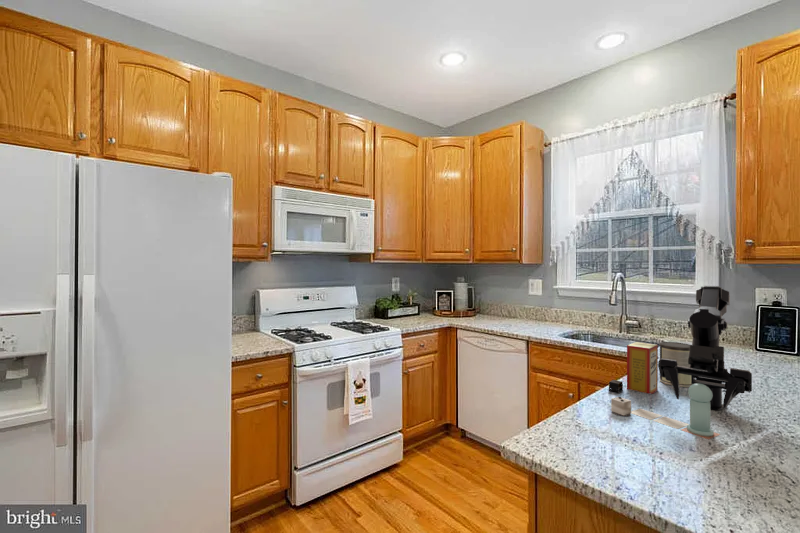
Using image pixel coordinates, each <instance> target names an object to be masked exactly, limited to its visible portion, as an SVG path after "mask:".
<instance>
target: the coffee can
mask: <svg viewBox="0 0 800 533" xmlns="http://www.w3.org/2000/svg"><path fill="white" fill-rule="evenodd" d="M658 344H659V345H658V346H659V360H660V359H662V358H663V359H671V360H677V364H678V366H685V367H690V364H688V358H689V348H690V345H691V344H689V343H683V342H677V341H661V342H659V343H658ZM678 379H679V388H680V387H681V388H689V387H690V386H691V385H692V380H691V375H686V374H680V373H678ZM659 382H660V383H663V384H665V385H668V386H672V384H671V382H670V381H668V380H666V379H665V378H664V377H662V376H660V375H659Z"/></svg>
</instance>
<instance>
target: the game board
mask: <svg viewBox="0 0 800 533" xmlns="http://www.w3.org/2000/svg"><path fill="white" fill-rule="evenodd" d="M610 401H611V402H610V406H611V407H610V408H611V409H610V410H611V413H612V414H614V415H616V416H619V417H630V416H632V415H635V416H639V417H641V418H645V419H647V420H649V421H653V422H655V423H659V424H662V425H665V426H668V427H671V428H673V429H676V430H680V431H683V432H685V433H688V434H691V435H694V436H697V437H700V438H703V439H706V440H708V441H709V440H711V439H713V438H715V437H718V436H720V435H721V434H720V433H718V432H715V431H714V435H713V436H710V437H707V436H700V435H696V434H693V433H691V432H689V431H688V430H687V425H690V423H686V422H683V421H680V420H678V419H675V418H671V417H667V416H663V415H662V414H658V413H656V412H652V411H649V410H646V409H643V408H638V409H634V410H632V400H631V399H627V398H624V397H621V396H617V397H616V396H615V397H613V398H611V399H610Z"/></svg>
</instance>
